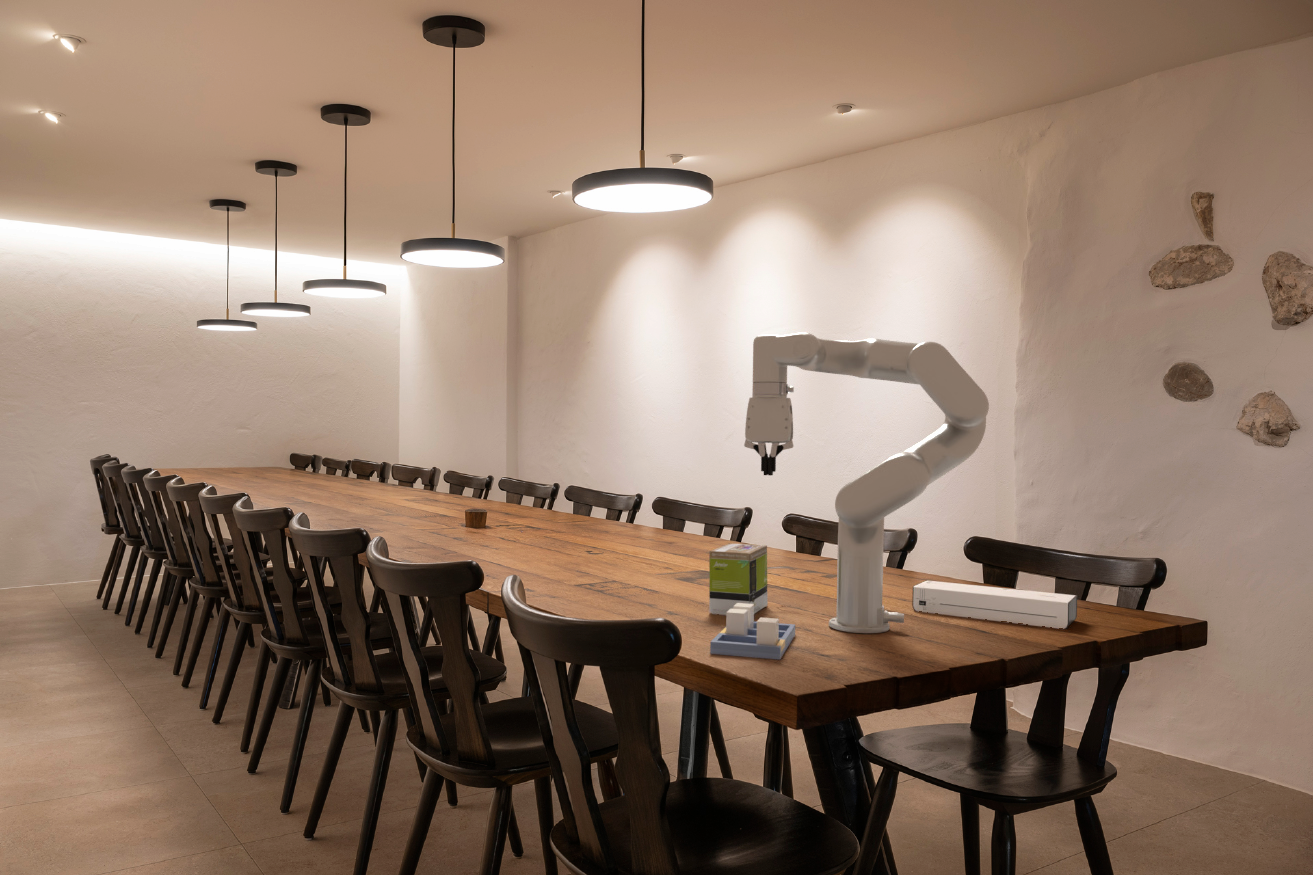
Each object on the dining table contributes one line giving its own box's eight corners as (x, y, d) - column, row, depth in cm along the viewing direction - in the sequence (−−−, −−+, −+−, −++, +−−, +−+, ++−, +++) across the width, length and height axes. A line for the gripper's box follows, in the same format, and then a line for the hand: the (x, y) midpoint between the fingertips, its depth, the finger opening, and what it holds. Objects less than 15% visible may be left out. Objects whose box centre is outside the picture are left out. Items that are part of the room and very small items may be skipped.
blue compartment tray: (795, 635, 184) (795, 624, 184) (779, 659, 164) (780, 647, 164) (732, 630, 188) (732, 619, 188) (710, 653, 168) (710, 641, 168)
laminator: (1076, 622, 204) (1077, 595, 204) (1067, 632, 193) (1068, 603, 193) (926, 605, 222) (926, 580, 222) (910, 613, 212) (911, 586, 212)
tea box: (728, 602, 219) (729, 542, 219) (768, 606, 215) (769, 544, 215) (707, 614, 205) (708, 549, 205) (750, 618, 201) (751, 551, 201)
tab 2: (753, 628, 185) (754, 603, 185) (750, 632, 181) (750, 607, 181) (736, 626, 186) (737, 602, 186) (732, 630, 182) (733, 606, 182)
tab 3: (778, 645, 170) (778, 618, 170) (775, 649, 167) (775, 622, 167) (760, 643, 171) (760, 617, 171) (756, 648, 168) (756, 621, 168)
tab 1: (747, 634, 179) (747, 609, 179) (743, 639, 175) (744, 613, 175) (730, 633, 180) (730, 608, 180) (726, 637, 176) (726, 612, 176)
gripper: (805, 392, 200) (804, 475, 200) (739, 392, 204) (738, 473, 204) (801, 390, 192) (800, 476, 192) (732, 390, 196) (731, 474, 197)
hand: (768, 474), depth 198 cm, fingers closed
